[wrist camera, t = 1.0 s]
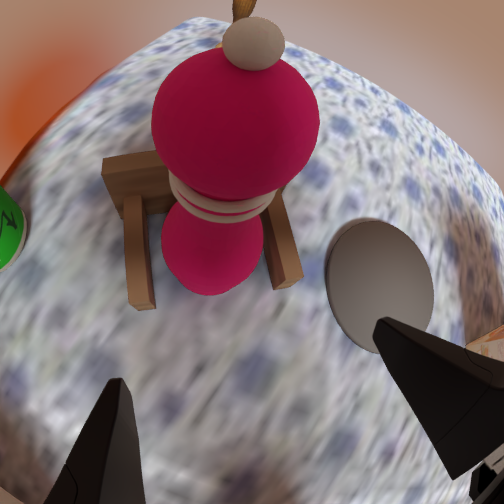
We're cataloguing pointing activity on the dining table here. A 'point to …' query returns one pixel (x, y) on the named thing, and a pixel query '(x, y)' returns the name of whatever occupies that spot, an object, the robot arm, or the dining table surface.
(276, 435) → the dining table surface
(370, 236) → the mat
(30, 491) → the dining table surface
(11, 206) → the soda can
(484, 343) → the coffeecake box
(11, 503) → the pizza boxes
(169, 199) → the holder
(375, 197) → the dining table surface
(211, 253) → the pepper mill
